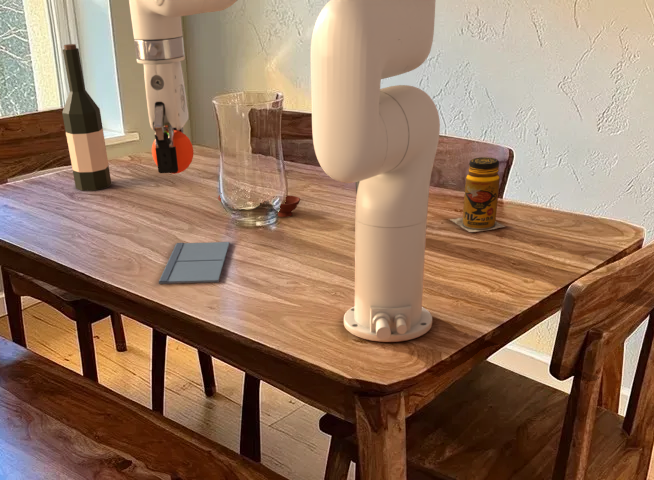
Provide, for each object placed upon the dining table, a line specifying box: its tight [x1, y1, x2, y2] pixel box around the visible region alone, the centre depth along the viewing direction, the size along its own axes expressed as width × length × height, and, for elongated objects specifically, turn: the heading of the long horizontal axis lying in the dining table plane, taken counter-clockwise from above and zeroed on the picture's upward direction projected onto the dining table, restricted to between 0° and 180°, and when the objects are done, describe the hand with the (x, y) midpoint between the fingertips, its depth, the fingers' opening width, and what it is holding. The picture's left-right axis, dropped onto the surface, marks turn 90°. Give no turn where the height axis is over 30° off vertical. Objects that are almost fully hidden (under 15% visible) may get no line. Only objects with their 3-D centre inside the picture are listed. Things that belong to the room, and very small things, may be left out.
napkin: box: [158, 241, 231, 285], centre depth 138 cm, size 19×10×1 cm, turn 177°
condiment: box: [449, 156, 506, 233], centre depth 146 cm, size 7×8×12 cm
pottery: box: [217, 194, 301, 218], centre depth 162 cm, size 12×20×4 cm, turn 48°
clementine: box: [151, 130, 195, 175], centre depth 131 cm, size 8×7×7 cm
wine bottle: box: [61, 43, 112, 192], centre depth 177 cm, size 8×8×30 cm
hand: (172, 165), depth 132 cm, fingers closed on clementine, 8 cm apart
